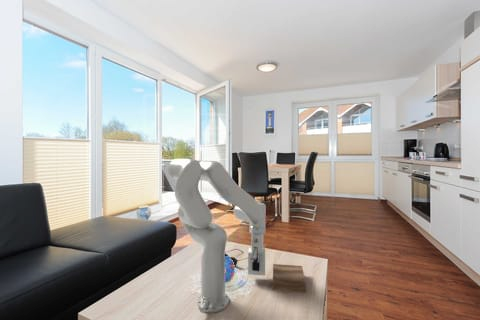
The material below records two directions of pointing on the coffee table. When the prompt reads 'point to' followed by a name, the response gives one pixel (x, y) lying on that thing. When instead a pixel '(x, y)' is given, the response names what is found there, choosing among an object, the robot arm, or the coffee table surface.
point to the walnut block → (288, 278)
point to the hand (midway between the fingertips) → (256, 266)
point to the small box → (261, 264)
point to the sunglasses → (234, 258)
